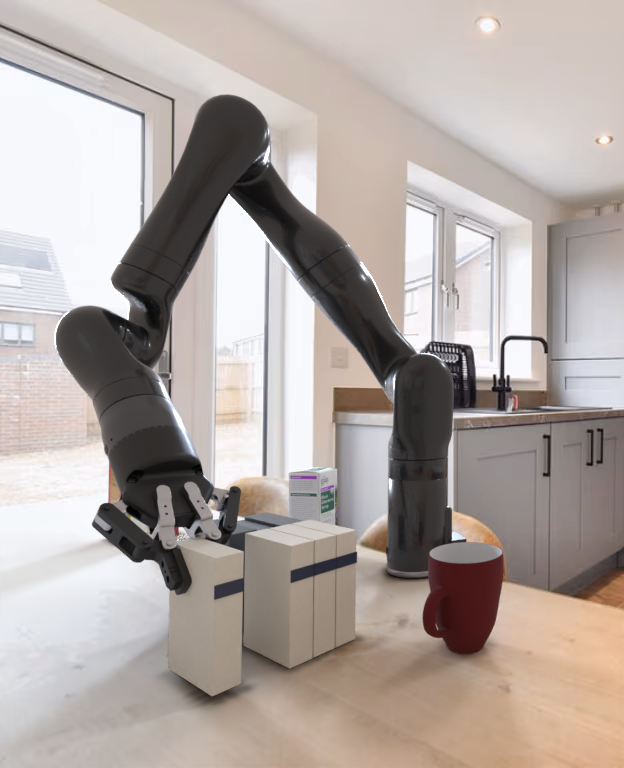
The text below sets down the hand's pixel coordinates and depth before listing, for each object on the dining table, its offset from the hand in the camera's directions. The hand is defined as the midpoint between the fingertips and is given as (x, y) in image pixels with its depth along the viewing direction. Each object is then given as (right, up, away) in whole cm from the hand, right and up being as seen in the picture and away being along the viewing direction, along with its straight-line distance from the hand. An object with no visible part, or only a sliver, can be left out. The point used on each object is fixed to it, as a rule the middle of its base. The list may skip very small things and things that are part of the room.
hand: (203, 583), depth 51 cm
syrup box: (-4, -10, +39) cm, 41 cm away
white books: (+6, -9, +8) cm, 13 cm away
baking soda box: (-40, -10, +51) cm, 66 cm away
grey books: (-3, -9, +15) cm, 18 cm away
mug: (+24, -9, +6) cm, 26 cm away
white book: (0, -8, 0) cm, 8 cm away
